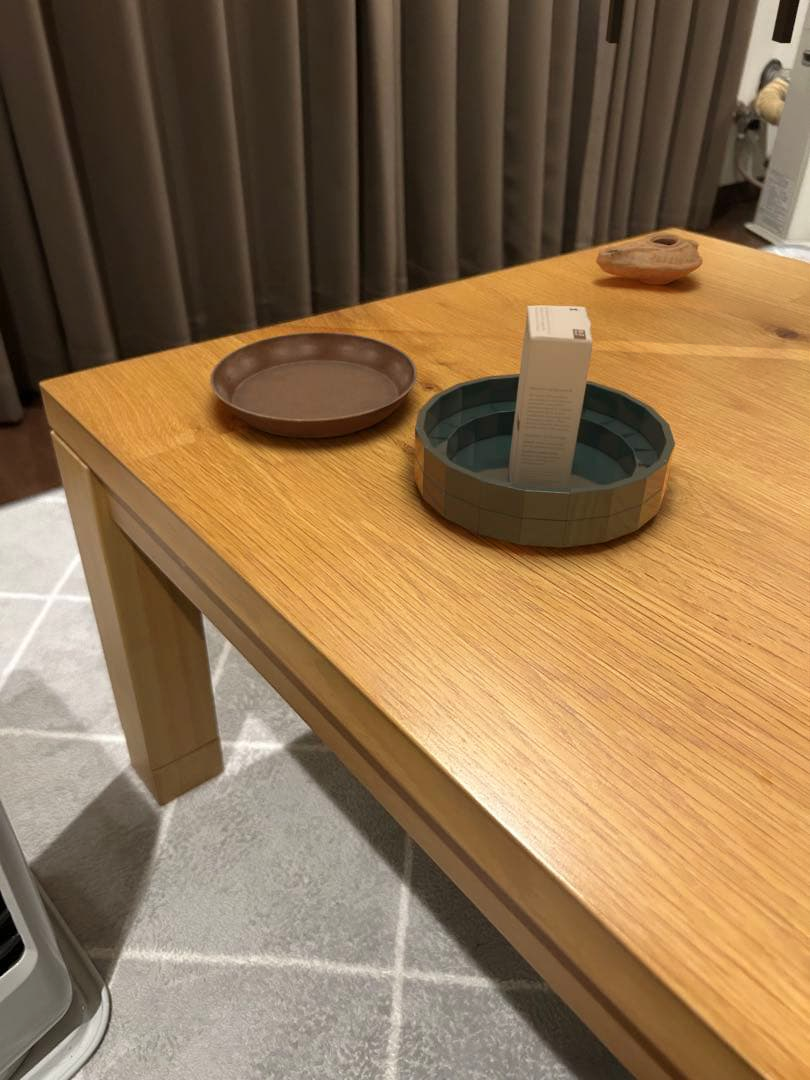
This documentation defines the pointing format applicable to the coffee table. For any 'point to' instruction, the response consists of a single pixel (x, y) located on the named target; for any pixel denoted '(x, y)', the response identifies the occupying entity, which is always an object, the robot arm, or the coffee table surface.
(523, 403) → the cosmetic box
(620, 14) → the robot arm
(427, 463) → the bowl
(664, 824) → the coffee table surface
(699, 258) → the pottery oil lamp
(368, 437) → the coffee table surface
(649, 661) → the coffee table surface
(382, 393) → the plant saucer
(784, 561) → the coffee table surface
